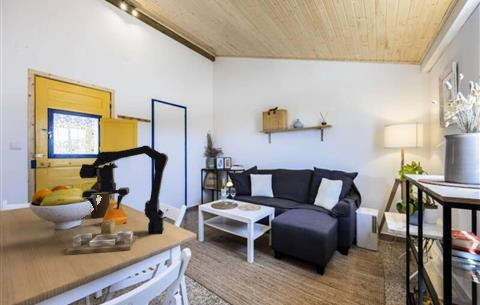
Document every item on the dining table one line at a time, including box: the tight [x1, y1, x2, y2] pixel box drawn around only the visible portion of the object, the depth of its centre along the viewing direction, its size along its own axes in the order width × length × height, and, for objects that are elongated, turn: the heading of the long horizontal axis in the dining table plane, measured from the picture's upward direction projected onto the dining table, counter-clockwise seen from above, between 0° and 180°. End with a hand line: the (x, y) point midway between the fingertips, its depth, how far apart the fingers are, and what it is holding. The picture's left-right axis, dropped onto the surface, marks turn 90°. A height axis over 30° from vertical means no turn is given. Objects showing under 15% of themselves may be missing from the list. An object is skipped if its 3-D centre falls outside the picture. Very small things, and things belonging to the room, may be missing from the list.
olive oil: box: [89, 176, 111, 219], centre depth 133 cm, size 11×11×25 cm
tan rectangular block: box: [100, 220, 116, 235], centre depth 105 cm, size 6×4×6 cm, turn 11°
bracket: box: [102, 200, 129, 227], centre depth 121 cm, size 11×7×12 cm, turn 132°
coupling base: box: [66, 230, 139, 255], centre depth 93 cm, size 23×12×6 cm, turn 101°
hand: (107, 210), depth 105 cm, fingers open, 9 cm apart
